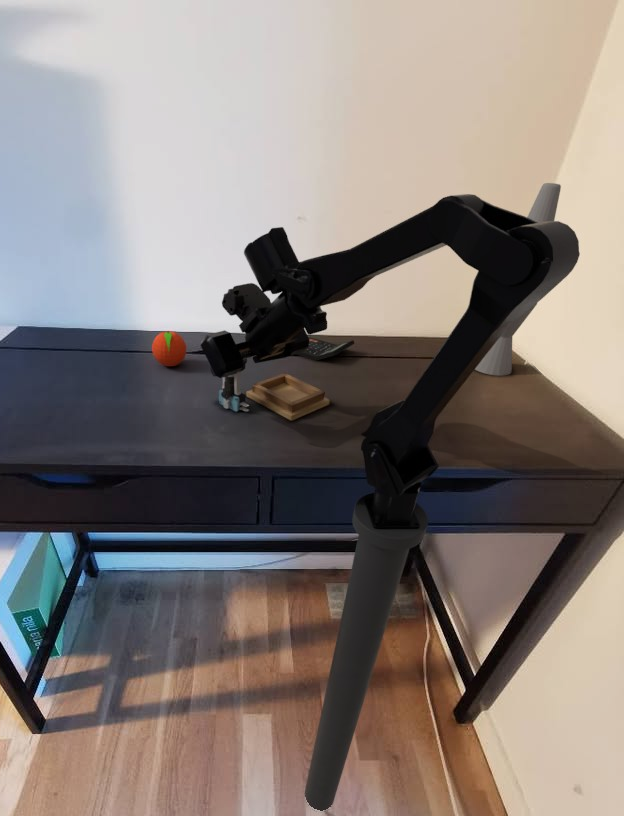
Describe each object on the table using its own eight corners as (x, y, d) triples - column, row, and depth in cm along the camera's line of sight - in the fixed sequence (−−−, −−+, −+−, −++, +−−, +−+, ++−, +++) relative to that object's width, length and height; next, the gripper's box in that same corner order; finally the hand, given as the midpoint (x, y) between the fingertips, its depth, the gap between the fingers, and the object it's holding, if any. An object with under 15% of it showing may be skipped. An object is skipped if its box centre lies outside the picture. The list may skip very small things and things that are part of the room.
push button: (257, 408, 88) (259, 355, 82) (236, 418, 85) (237, 364, 79) (231, 396, 91) (231, 344, 86) (210, 405, 88) (209, 352, 82)
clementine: (188, 373, 99) (186, 339, 95) (153, 374, 98) (149, 339, 94) (186, 358, 105) (184, 325, 101) (153, 359, 104) (150, 325, 100)
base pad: (329, 404, 91) (331, 392, 89) (291, 421, 85) (292, 408, 83) (284, 382, 97) (285, 370, 96) (246, 396, 92) (246, 384, 90)
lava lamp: (493, 357, 113) (552, 181, 92) (521, 373, 106) (592, 186, 85) (461, 361, 110) (514, 180, 90) (487, 377, 104) (551, 186, 83)
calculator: (309, 340, 117) (311, 328, 115) (353, 353, 112) (355, 340, 110) (288, 351, 111) (289, 338, 109) (333, 365, 105) (334, 352, 104)
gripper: (303, 261, 76) (254, 314, 89) (206, 278, 65) (166, 335, 78) (335, 326, 76) (281, 369, 89) (243, 353, 65) (197, 398, 78)
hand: (234, 366), depth 84 cm, fingers open, 9 cm apart
